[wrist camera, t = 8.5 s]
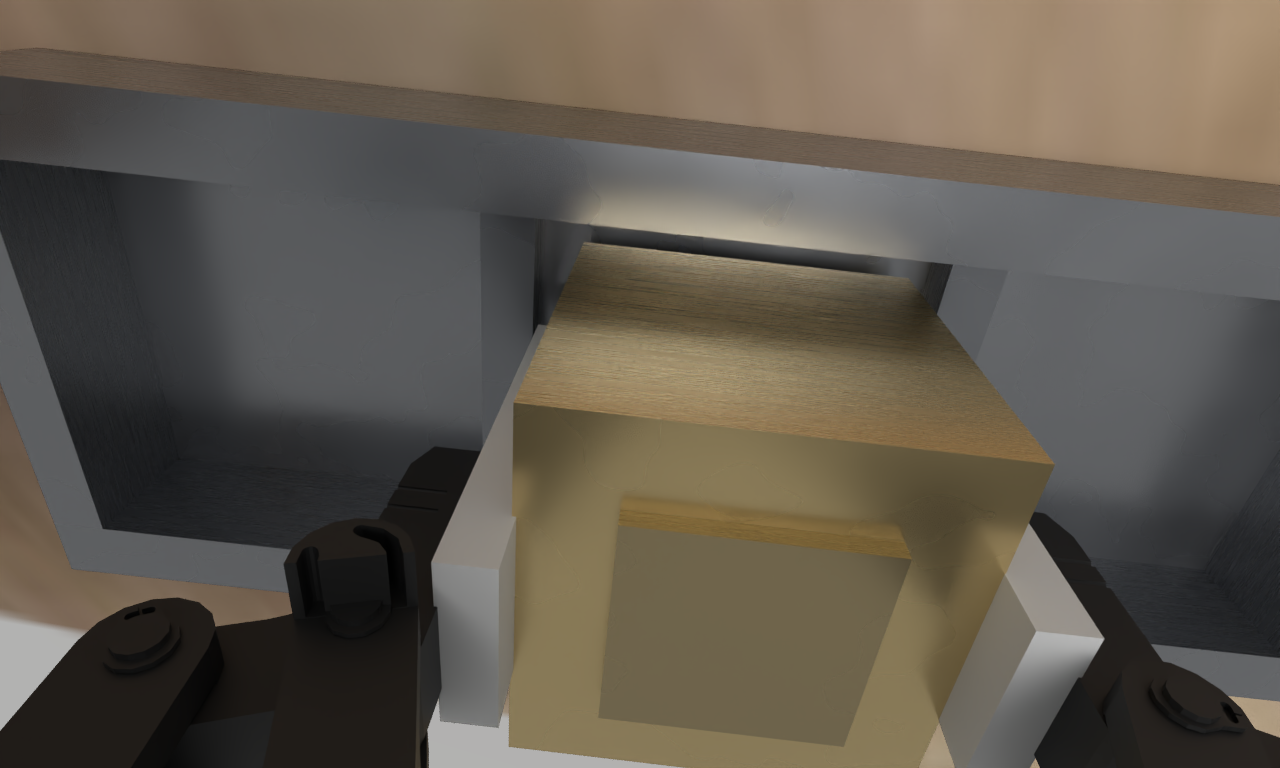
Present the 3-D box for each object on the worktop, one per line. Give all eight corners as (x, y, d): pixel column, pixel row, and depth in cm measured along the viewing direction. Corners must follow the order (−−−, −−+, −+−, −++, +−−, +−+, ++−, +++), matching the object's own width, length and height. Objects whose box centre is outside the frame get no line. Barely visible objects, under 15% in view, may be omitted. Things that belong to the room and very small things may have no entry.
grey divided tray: (161, 484, 18) (71, 569, 15) (37, 47, 13) (-123, 62, 11) (1208, 599, 18) (1298, 703, 15) (1468, 206, 13) (1665, 259, 11)
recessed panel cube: (568, 501, 16) (503, 764, 11) (584, 241, 13) (508, 415, 8) (835, 532, 16) (911, 814, 10) (908, 278, 13) (1068, 481, 8)
